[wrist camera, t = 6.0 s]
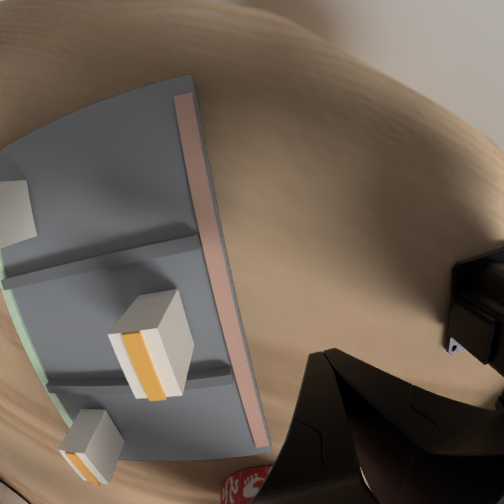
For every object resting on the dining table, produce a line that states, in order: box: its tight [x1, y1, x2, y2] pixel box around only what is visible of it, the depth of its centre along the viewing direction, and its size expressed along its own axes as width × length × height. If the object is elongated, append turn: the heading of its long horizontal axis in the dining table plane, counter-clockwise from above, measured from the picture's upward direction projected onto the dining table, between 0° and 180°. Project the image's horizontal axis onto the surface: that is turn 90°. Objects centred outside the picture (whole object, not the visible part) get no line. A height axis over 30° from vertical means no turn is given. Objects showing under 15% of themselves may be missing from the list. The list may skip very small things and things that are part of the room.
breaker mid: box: [108, 289, 194, 401], centre depth 12 cm, size 2×3×4 cm, turn 11°
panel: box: [0, 74, 272, 461], centre depth 14 cm, size 14×22×2 cm, turn 11°
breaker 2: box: [58, 409, 125, 485], centre depth 13 cm, size 2×3×4 cm, turn 10°
